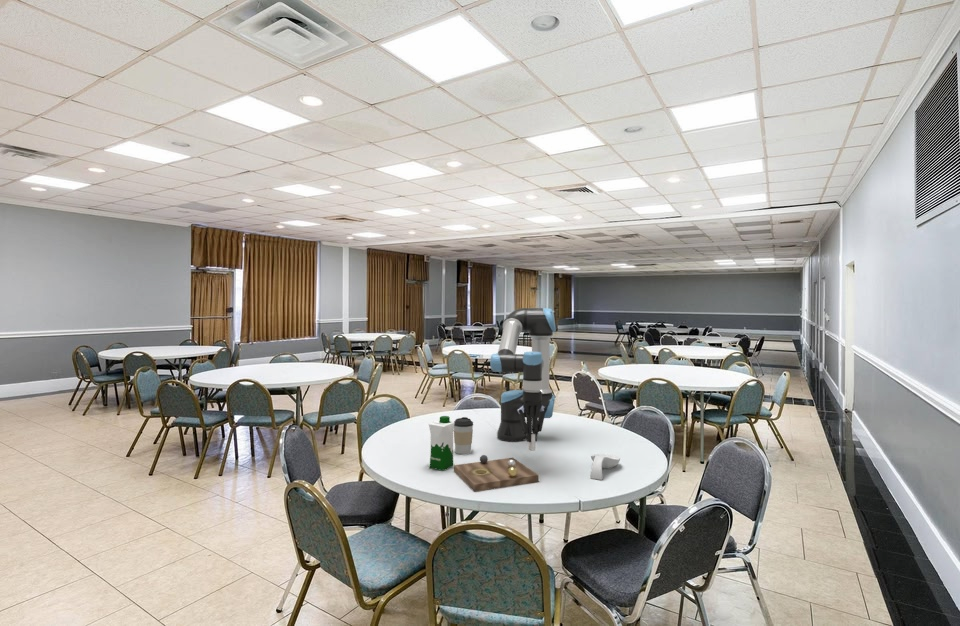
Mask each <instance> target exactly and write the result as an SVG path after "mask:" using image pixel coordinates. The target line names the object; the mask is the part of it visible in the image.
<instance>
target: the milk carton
mask: <svg viewBox="0 0 960 626" xmlns="http://www.w3.org/2000/svg"><path fill="white" fill-rule="evenodd" d="M454 424H455V423H454V421H451V419H450V416H449V415H441V416H440V417H439V420H436V421H432V422H431V423H428V427H429V431H430V433H429V434H430V458H429V468H430V469H435V470H439V471H446V470H448V469H449V468H452V467H454Z"/></svg>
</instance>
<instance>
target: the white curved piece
mask: <svg viewBox="0 0 960 626" xmlns="http://www.w3.org/2000/svg"><path fill="white" fill-rule="evenodd" d="M590 458H591V460H592V462H593V463H592V466H591V471H590V475H589V476H590V477H589V478H590V479H591V478H592V480H599V481H602V480H603V479H604V477H603V469H605V468H609V469H613V468H614V467H616V466H617V465H618V464H619V463H620V461H621V457H619V456H617V455H614V454H608V453H607V454H606V453H593V454H591V455H590Z"/></svg>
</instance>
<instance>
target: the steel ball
mask: <svg viewBox="0 0 960 626" xmlns="http://www.w3.org/2000/svg"><path fill="white" fill-rule="evenodd" d="M507 464H508V467H515V465H516V463H515V461H514V460H512V459H511V460H509V461H508V463H507Z"/></svg>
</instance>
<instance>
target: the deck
mask: <svg viewBox="0 0 960 626" xmlns="http://www.w3.org/2000/svg"><path fill="white" fill-rule="evenodd" d="M511 459H512V460H514V461H515V463H516V465H515V468H516V469H517V475H516V476H515V477H510V476H509V475H508V469H509V468H510V467H508V464H507V463H508V461H509V460H511ZM453 473H455V474H456V475H457V476H458V477H459V478H460V479H461V480H462V481H463V482H464V483H465V484H466V485H467V486H468V487H469V488H470V489H471V490H472V491H473V492H481V491H487V490H493V489H494V488H495V489H501V488H505V487H514V486H520V485H526V484H527V485H528V484H532V483H533V484H534V483H538V482H540V481H539V479H540V476H539V474H538V473H536V472H535V471H533V470H532V469H530V467H527V466H526V465H525V464H523V463H522V462H520V461H519V460H517V459H515V458H514V457H506V458H499V459H493V460H492V459H491V460H488V461H487V462H486V463H481V461H477V462H475V461H474V462H467V463H460V464H453Z"/></svg>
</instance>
